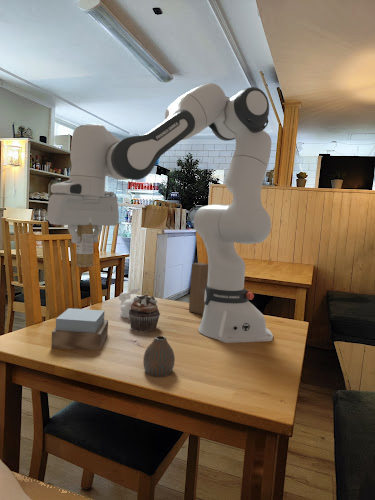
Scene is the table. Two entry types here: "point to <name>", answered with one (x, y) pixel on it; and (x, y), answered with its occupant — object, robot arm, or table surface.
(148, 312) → the cupcake
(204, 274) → the wooden block
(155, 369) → the vase
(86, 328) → the tower top block
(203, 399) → the table surface
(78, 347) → the tower base block
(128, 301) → the rabbit
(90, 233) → the sprinkles bottle
